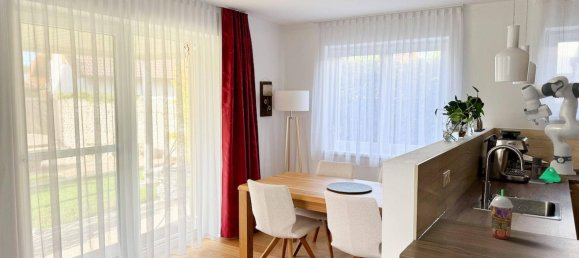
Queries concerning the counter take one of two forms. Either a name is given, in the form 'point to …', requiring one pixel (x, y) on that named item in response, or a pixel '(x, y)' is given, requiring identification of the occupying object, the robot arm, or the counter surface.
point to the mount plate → (538, 181)
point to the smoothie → (501, 216)
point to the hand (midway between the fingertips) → (542, 123)
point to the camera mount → (550, 175)
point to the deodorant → (536, 167)
